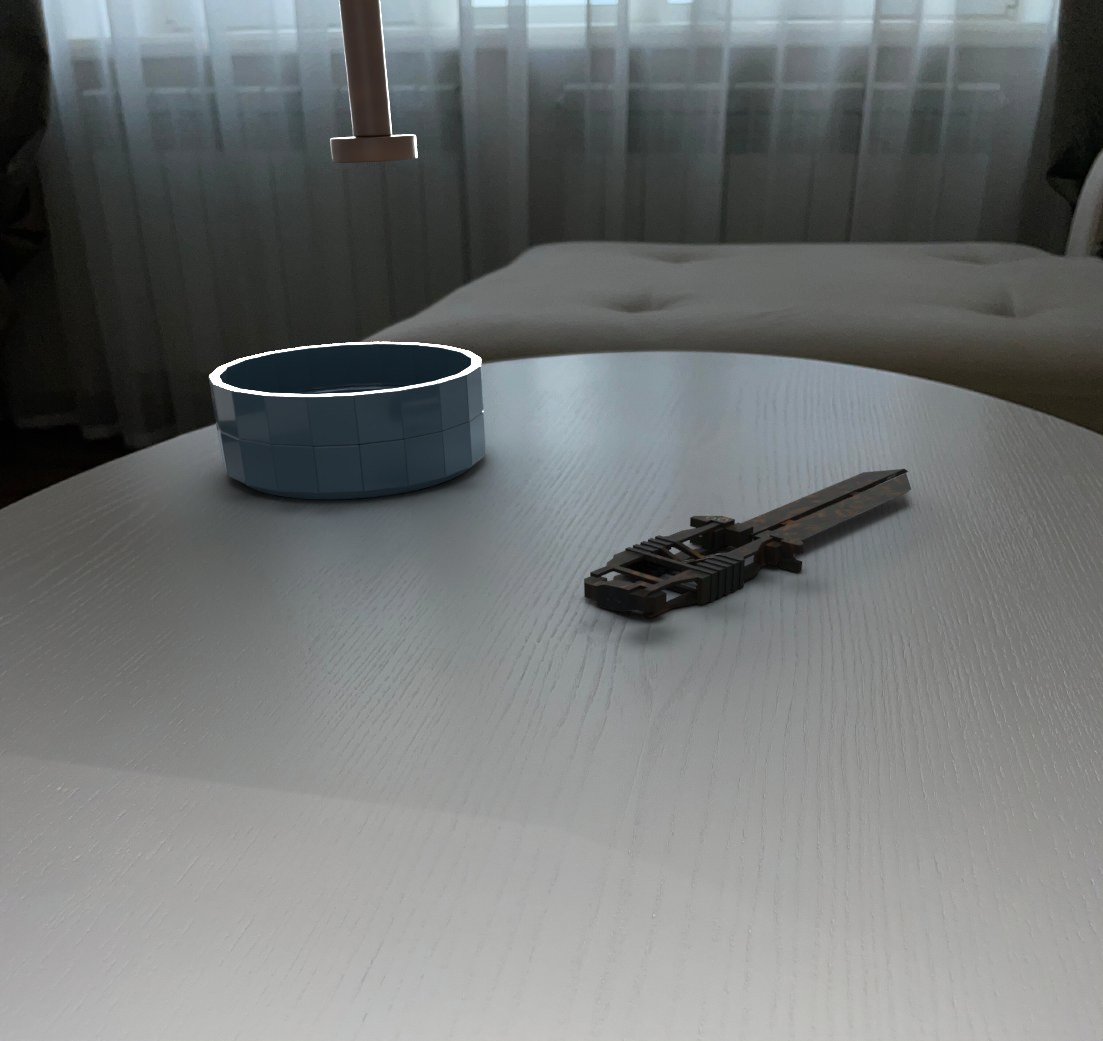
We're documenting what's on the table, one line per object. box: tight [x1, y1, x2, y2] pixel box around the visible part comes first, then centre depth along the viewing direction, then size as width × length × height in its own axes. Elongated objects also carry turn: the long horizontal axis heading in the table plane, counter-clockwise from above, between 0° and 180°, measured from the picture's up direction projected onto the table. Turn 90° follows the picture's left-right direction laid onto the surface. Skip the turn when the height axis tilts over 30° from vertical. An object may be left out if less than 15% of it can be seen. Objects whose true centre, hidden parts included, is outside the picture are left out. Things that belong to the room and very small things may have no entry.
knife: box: [583, 468, 912, 619], centre depth 57 cm, size 25×6×1 cm, turn 130°
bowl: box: [208, 341, 487, 500], centre depth 71 cm, size 16×16×6 cm
